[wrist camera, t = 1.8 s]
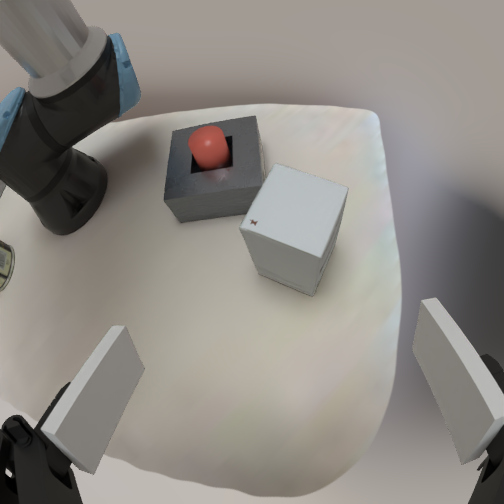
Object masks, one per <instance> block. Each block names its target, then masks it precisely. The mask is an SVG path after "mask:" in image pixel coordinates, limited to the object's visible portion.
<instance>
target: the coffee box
mask: <svg viewBox="0 0 504 504" xmlns="http://www.w3.org/2000/svg"><path fill="white" fill-rule="evenodd" d="M5 186H6V184H5V183H4V182H2V181H1V180H0V197H1V194H2V192H3V190H4V188H5Z"/></svg>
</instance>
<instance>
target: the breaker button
mask: <svg viewBox="0 0 504 504" xmlns="http://www.w3.org/2000/svg"><path fill="white" fill-rule="evenodd" d="M188 146H189V148H190V150H191V152H192V154H193V156H194V158H195V160H196V162H197V164H198V166H199V168H200V170H201V172H204V171H210V170H216V169H222V168H229V167H231V164H232V158H231V155H230V152H229V149H228V146H227V143H226V140H225V137H224V134H223V131H222V130H221V129H220V128H219V127H216V126H205V127H202V128H199V129H197V130H196V131H195V132H193V133H192V135H191V136H190V137H189V140H188Z"/></svg>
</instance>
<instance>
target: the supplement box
mask: <svg viewBox="0 0 504 504" xmlns="http://www.w3.org/2000/svg"><path fill="white" fill-rule="evenodd" d="M348 189H349V188H348V187H346V186H343V185H340V184H337V183H335V182H332V181H329V180H326V179H323V178H320V177H317V176H314V175H311V174H308V173H305V172H302V171H299V170H296V169H293V168H290V167H287V166H284V165H281V164H278V163H275V164H274V165H273V167H272V169H271V171H270V172H269V174H268V176H267V178H266V180H265V181H264V183H263V185H262V187H261V189H260V190H259V192H258V194H257V195H256V197H255V200H254V201H253V203H252V205H251V207H250V209H249V210H248V212H247V214H246V216H245V218H244V220H243V221H242V223H241V225H240V227H239V228H240V231H241V233H242V236H243V238H244V240H245V243H246V245H247V248H248V250H249V252H250V255H251V257H252V259H253V262H254V264H255V267H256V269H257V271H258V274H261V275H263V276H265V277H267V278H270V279H272V280H275V281H277V282H279V283H282V284H284V285H286V286H289V287H291V288H293V289H296V290H298V291H300V292H303V293H305V294H307V295H310V296H314V294H315V291H316V288H317V286H318V284H319V281H320V279H321V277H322V274H323V272H324V270H325V267H326V265H327V262H328V260H329V257H330V255H331V253H332V250H333V248H334V246H335V243H336V239H337V235H338V232H339V228H340V224H341V220H342V216H343V211H344V207H345V202H346V198H347V194H348Z"/></svg>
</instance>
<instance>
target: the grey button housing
mask: <svg viewBox="0 0 504 504" xmlns="http://www.w3.org/2000/svg"><path fill="white" fill-rule="evenodd" d="M205 126H216V127H219V128H220V129H221V130H222V131H223V134H224V137H225V140H226V143H227V146H228V149H229V152H230V155H231V158H232V164H231V167H229V168H222V169H216V170H210V171H204V172H201V170H200V168H199V166H198V164H197V162H196V160H195V158H194V156H193V154H192V152H191V150H190V148H189V146H188V140H189V137H190V136H191V135H192V133H193V132H195V131H196V130H197V129H199V128H202V127H205ZM265 180H266V178H265V168H264V158H263V149H262V144H261V138H260V134H259V129H258V124H257V119H256V116H249V117H243V118H236V119H230V120H225V121H219V122H214V123H209V124H203V125H199V126H194V127H189V128H185V129H180V130H176V131H173V133H172V139H171V146H170V153H169V160H168V168H167V176H166V184H165V193H164V202H165V203H166V204H167V206H168V207H169V208H170V209H171V211H172V212H173V213H174V215H175V216H176V217H177V218H178V220H179V221H180V222H181V223H183V222H190V221H197V220H204V219H211V218H218V217H226V216H233V215H241V214H247V212H248V210H249V209H250V207H251V205H252V203H253V201H254V200H255V197H256V195H257V194H258V192H259V190H260V189H261V187H262V185H263V183H264V181H265Z"/></svg>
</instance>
